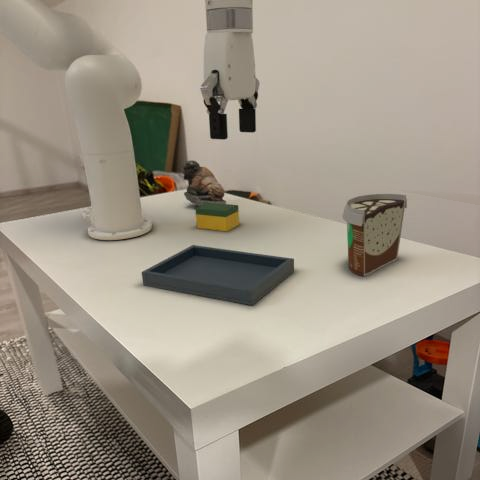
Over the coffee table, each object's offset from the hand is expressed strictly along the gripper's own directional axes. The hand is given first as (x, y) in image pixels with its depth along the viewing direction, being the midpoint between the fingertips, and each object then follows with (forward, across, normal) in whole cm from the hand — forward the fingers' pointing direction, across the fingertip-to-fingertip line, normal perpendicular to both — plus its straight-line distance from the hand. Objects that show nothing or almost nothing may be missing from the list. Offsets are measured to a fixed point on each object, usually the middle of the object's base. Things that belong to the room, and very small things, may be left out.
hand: (233, 135), depth 90 cm
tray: (+18, +21, +10) cm, 29 cm away
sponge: (+18, -2, -6) cm, 19 cm away
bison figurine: (+18, -14, -17) cm, 29 cm away
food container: (+18, +7, +27) cm, 33 cm away
